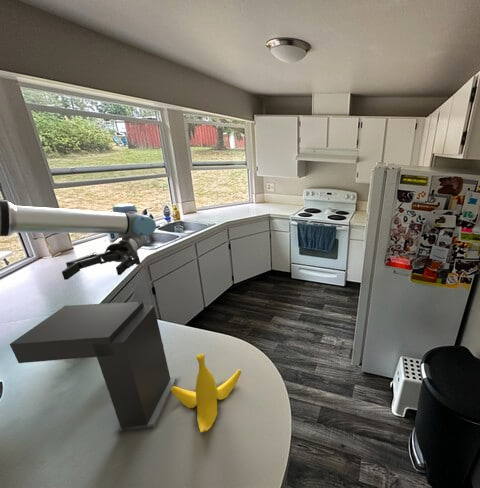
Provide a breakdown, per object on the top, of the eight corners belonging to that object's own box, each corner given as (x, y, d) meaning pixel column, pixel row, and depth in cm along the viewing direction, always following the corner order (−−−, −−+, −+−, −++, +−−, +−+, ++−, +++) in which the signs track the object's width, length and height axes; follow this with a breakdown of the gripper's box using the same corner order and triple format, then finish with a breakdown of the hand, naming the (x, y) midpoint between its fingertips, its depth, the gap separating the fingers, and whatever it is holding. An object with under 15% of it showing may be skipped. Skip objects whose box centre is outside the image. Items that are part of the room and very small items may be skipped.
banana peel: (173, 394, 72) (162, 348, 67) (242, 376, 79) (237, 333, 73) (161, 455, 58) (146, 402, 52) (246, 427, 64) (241, 377, 59)
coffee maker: (54, 439, 60) (9, 344, 51) (95, 388, 73) (65, 305, 64) (154, 427, 64) (129, 335, 54) (176, 380, 77) (159, 300, 67)
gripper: (160, 256, 101) (141, 279, 82) (85, 261, 94) (44, 288, 75) (157, 238, 99) (136, 259, 80) (79, 242, 91) (36, 266, 72)
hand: (91, 273), depth 77 cm, fingers open, 13 cm apart
